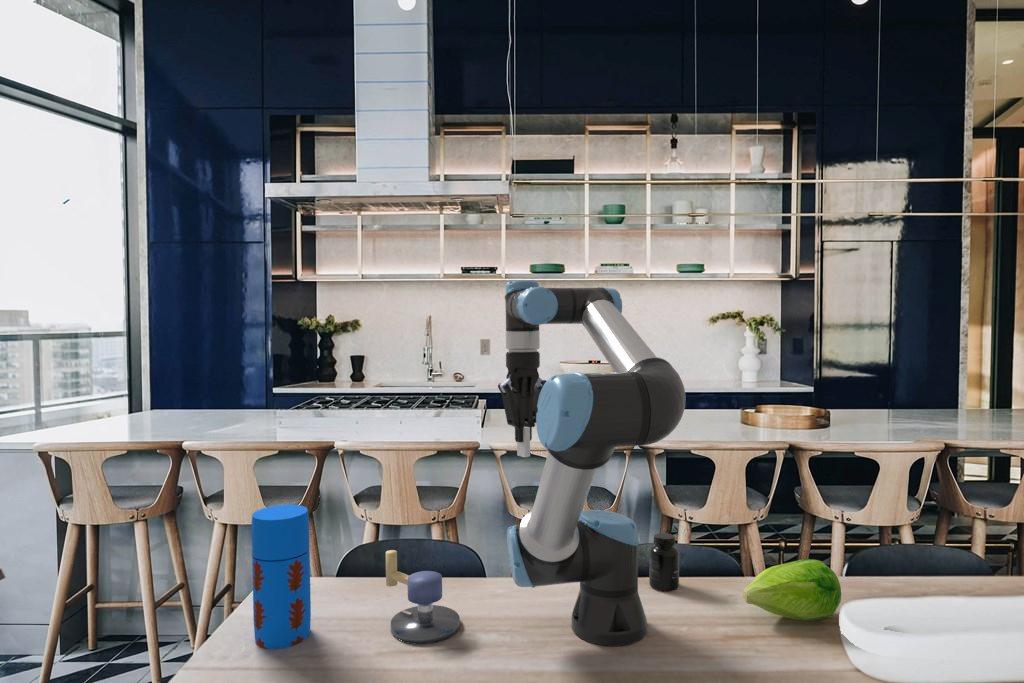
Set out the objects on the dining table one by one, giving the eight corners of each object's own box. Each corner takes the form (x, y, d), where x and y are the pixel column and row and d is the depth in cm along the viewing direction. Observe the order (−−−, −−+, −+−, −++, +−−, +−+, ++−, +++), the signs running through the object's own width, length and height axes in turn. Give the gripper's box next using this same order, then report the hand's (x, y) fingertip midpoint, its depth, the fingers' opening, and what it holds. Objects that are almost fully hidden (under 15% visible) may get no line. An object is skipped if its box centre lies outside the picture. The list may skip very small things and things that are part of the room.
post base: (473, 623, 136) (473, 594, 136) (427, 651, 125) (426, 620, 125) (424, 606, 145) (423, 579, 144) (376, 631, 133) (375, 602, 133)
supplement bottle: (682, 592, 151) (682, 540, 150) (652, 592, 151) (652, 540, 150) (675, 580, 158) (675, 531, 157) (646, 580, 158) (646, 531, 157)
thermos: (274, 655, 124) (271, 523, 123) (242, 638, 131) (240, 514, 130) (322, 632, 133) (319, 510, 132) (290, 618, 139) (288, 501, 138)
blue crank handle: (449, 597, 135) (449, 563, 135) (423, 609, 130) (422, 573, 129) (401, 577, 145) (400, 546, 145) (375, 587, 140) (374, 555, 140)
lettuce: (728, 607, 143) (728, 553, 142) (815, 602, 145) (815, 548, 145) (760, 638, 129) (760, 578, 129) (855, 631, 131) (856, 572, 131)
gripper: (532, 349, 153) (533, 449, 154) (489, 351, 145) (490, 457, 145) (555, 350, 148) (556, 454, 148) (511, 352, 139) (512, 463, 140)
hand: (523, 455), depth 147 cm, fingers closed
